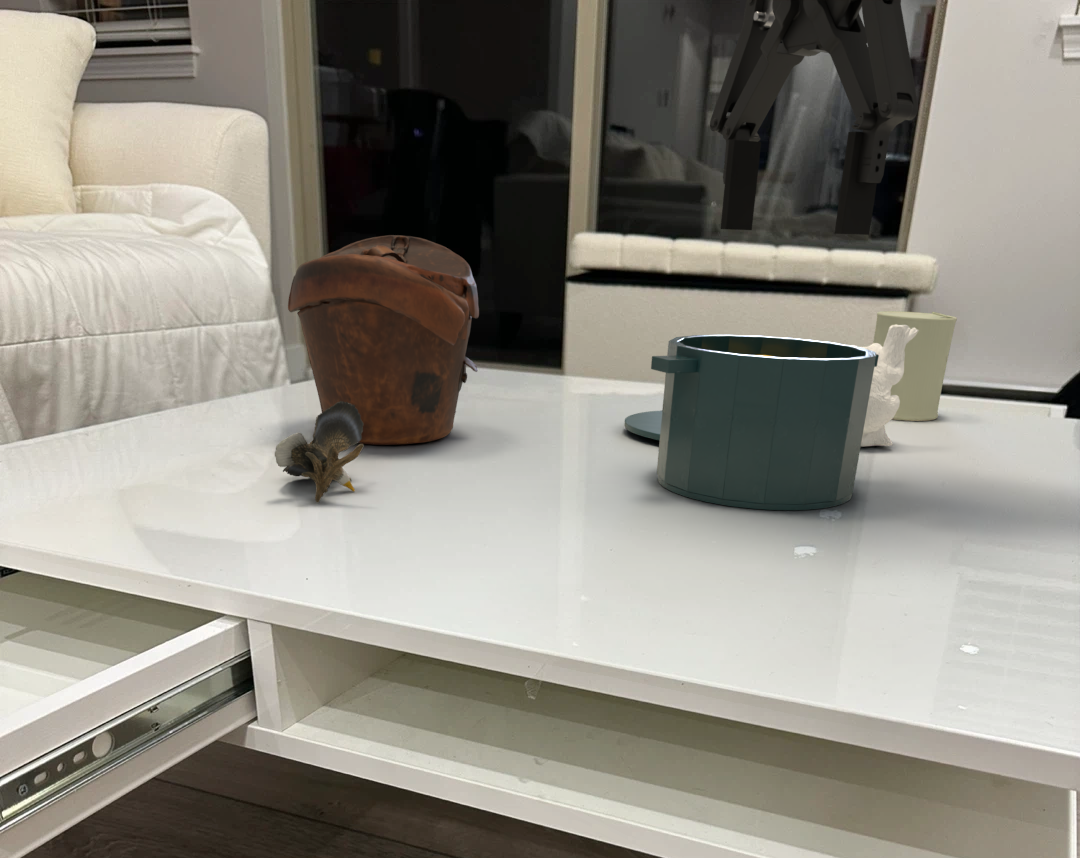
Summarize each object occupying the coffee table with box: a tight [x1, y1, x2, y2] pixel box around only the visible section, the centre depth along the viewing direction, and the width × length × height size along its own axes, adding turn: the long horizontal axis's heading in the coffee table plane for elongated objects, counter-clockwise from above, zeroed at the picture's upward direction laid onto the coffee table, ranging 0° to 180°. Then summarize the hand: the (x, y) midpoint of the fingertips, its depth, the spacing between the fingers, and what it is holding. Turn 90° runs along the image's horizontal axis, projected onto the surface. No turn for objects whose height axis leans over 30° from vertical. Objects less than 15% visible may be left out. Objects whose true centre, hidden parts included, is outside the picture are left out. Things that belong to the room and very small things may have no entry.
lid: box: [623, 410, 662, 442], centre depth 110 cm, size 18×18×4 cm
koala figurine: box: [850, 325, 919, 448], centre depth 108 cm, size 8×7×12 cm
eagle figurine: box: [274, 401, 365, 503], centre depth 82 cm, size 8×7×9 cm
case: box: [287, 234, 480, 446], centre depth 101 cm, size 18×20×18 cm
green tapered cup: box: [872, 310, 958, 422], centre depth 127 cm, size 9×9×12 cm
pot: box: [650, 334, 879, 511], centre depth 89 cm, size 17×22×12 cm
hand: (790, 232), depth 82 cm, fingers open, 13 cm apart
